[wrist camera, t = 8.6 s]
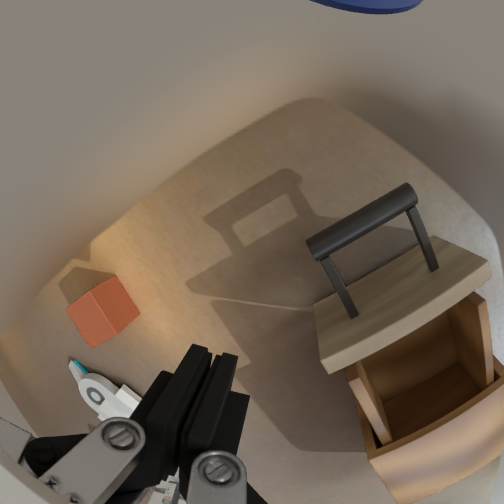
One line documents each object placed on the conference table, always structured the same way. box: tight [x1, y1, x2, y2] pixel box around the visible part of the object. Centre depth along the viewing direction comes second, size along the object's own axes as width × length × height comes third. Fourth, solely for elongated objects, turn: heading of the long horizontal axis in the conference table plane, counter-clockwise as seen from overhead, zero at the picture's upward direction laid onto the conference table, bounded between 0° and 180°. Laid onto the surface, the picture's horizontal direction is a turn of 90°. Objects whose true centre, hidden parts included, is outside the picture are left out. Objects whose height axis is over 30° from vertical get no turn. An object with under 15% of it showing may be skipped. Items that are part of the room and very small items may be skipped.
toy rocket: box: [69, 360, 142, 421], centre depth 28 cm, size 16×10×2 cm, turn 50°
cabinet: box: [355, 355, 504, 504], centre depth 19 cm, size 15×13×10 cm
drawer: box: [305, 183, 494, 447], centre depth 17 cm, size 19×11×8 cm, turn 31°
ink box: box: [148, 467, 186, 504], centre depth 26 cm, size 9×5×12 cm, turn 170°
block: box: [66, 275, 140, 348], centre depth 24 cm, size 4×4×4 cm
